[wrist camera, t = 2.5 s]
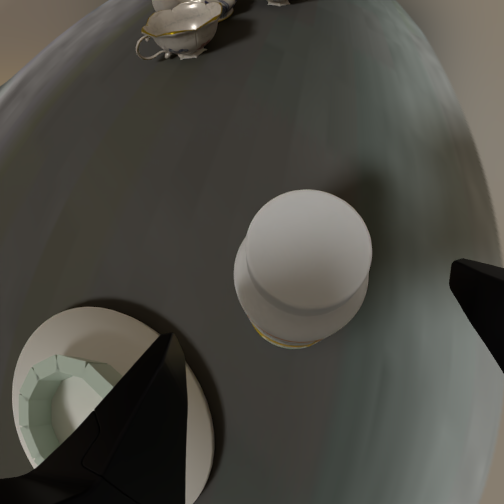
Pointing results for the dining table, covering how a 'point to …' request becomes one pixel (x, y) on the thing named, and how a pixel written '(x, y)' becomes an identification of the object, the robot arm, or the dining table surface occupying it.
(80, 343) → the carrier socket
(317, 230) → the supplement bottle
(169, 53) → the chinaware
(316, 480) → the dining table surface
